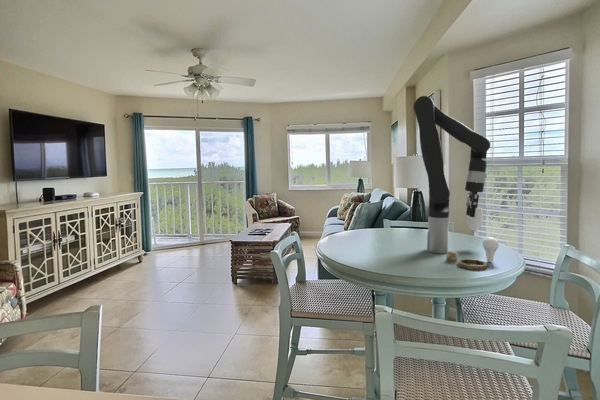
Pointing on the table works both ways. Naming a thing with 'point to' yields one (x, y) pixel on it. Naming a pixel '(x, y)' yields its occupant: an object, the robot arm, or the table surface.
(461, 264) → the holder ring
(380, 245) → the table surface
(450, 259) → the oak stub
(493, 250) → the lightbulb
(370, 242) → the table surface
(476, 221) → the cup
